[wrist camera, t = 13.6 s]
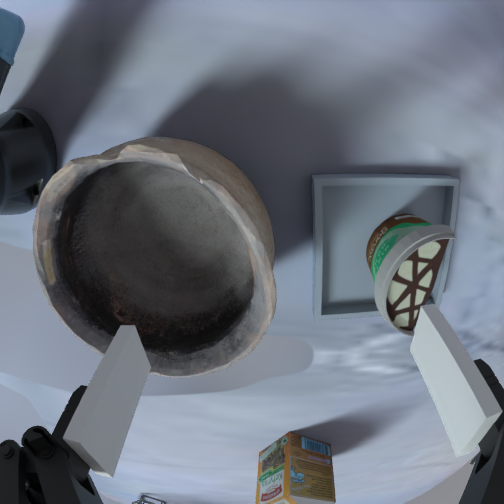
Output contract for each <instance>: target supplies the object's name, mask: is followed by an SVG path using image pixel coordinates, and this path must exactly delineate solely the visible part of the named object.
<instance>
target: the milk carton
mask: <svg viewBox="0 0 504 504" xmlns="http://www.w3.org/2000/svg"><path fill="white" fill-rule="evenodd" d="M335 503H336V499H335V487H334V475H333V465H332V455H331V445H330V444H327V443H324V442H320V441H317V440H313V439H310V438H307V437H304V436H301V435H298V434H294V433H291V432H288V433H287V434H285V435H284V436H283V437H281V438H280V439H278V440H277V441H275V442H274V443H273V444H271V445H270V446H268V447H267V448H265V449H264V450H262V451H261V452H259V464H258V478H257V491H256V504H335Z"/></svg>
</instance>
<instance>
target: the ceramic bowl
mask: <svg viewBox="0 0 504 504" xmlns="http://www.w3.org/2000/svg"><path fill="white" fill-rule="evenodd" d="M33 240H34V242H33V254H34V259H35V264H36V269H37V274H38V277H39V280H40V284H41V286H42V289H43V292H44V294H45V296H46V299H47V301H48V303H49V305H50V307H51V308H52V310H53V311H54V312H55V313H56V315H57V316H58V317H59V318H60V320H61V321H62V323H63V324H64V325H65V326H66V327H67V328H68V329H69V331H71V332H72V333H73V334H74V335H75V336H76V337H77V338H78V339H79V340H81V341H82V342H83V343H84V344H86V345H87V346H88V347H90V348H91V349H92V350H93V351H95V352H96V353H98V354H100V355H102V356H104V355H105V353H106V351H107V349H108V347H109V346H110V344H111V342H112V340H113V338H114V337H115V335H116V333H117V331H118V329H119V328H120V326H121V325H135V327H136V329H137V332H138V335H139V337H140V340H141V343H142V345H143V348H144V350H145V353H146V356H147V358H148V360H149V363H150V365H151V369H150V372H149V374H155V375H161V376H167V377H174V378H188V377H196V376H202V375H206V374H209V373H213V372H216V371H220V370H224V369H226V368H228V367H229V366H231V365H232V364H234V363H235V362H236V361H238V360H240V359H242V358H244V357H246V356H247V355H248V354H250V353H251V352H252V351H253V350H254V348H255V347H256V346H257V344H258V343H259V341H260V340H261V339H262V337H263V336H264V334H265V333H266V331H267V328H268V326H269V324H270V322H271V320H272V318H273V316H274V313H275V308H276V283H275V279H274V275H273V265H274V258H275V244H274V235H273V230H272V225H271V221H270V218H269V215H268V212H267V209H266V207H265V205H264V203H263V201H262V199H261V197H260V195H259V194H258V192H257V190H256V189H255V187H254V185H253V184H252V183H251V182H250V181H249V179H248V178H247V176H246V175H245V174H244V173H243V172H242V171H241V170H240V169H239V168H238V167H237V166H236V165H235V164H234V163H232V162H231V161H230V160H228V159H227V158H225V157H224V156H222V155H221V154H219V153H218V152H216V151H215V150H212V149H210V148H208V147H205V146H203V145H201V144H198V143H195V142H192V141H188V140H181V139H175V138H169V137H144V138H140V139H136V140H132V141H129V142H126V143H123V144H120V145H118V146H115V147H113V148H110V149H108V150H106V151H105V152H103V153H102V154H100V155H92V156H88V157H82V158H77V159H73V160H70V161H69V162H68V163H67V164H66V165H65V166H64V167H63V168H61V169H60V170H59V171H58V172H57V173H55V174H54V175H53V176H52V177H51V179H50V180H49V182H48V183H47V185H46V186H45V188H44V190H43V191H42V193H41V196H40V199H39V202H38V206H37V211H36V215H35V221H34V225H33Z"/></svg>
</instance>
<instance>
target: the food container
mask: <svg viewBox="0 0 504 504" xmlns="http://www.w3.org/2000/svg"><path fill="white" fill-rule="evenodd" d="M453 235H454V233H453V231H452V230H451V228H450V227H449V226H448V225H433V224H431V223H429V222H427V221H425V220H423V219H421V218H419V217H417V216H416V215H413V214H400V215H394V216H392V217H390V218H388V219H387V220H385V221H383V222H382V223H381V224H380V225H379V226H378V227H377V228H376V229H375V230H374V231H373V233H372V235H371V236H370V238H369V241H368V244H367V248H366V258H367V263H368V266H369V268H370V271H371V274H372V277H373V279H374V282H375V287H374V296H375V302H376V306H377V308H378V310H379V312H380V314H381V315H382V317H383V318H384V319H385V320H386V321H387V322H388V323H389V324H390V325H391V326H392V327H393V328H394V329H396V330H397V331H399V332H401V333H403V334H405V335H408V336H412V337H414V330H413V329H414V327H415V325H416V322H417V320H418V317H419V312H420V308H421V306H423V305H425V303H426V302H427V300H428V298H429V296H430V294H431V292H432V290H433V288H434V285H435V282H436V279H437V275H438V271H439V268H440V265H441V262H442V259H443V256H444V253H445V251H446V248H447V245H448V242H449V239H456V238H455V237H454V236H453Z"/></svg>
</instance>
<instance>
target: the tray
mask: <svg viewBox="0 0 504 504" xmlns="http://www.w3.org/2000/svg"><path fill="white" fill-rule="evenodd" d="M311 177H312V208H313V314H314V321H320V320H336V319H349V318H361V317H373V316H382V315H381V314H380V312H379V310H378V308H377V306H376V302H375V296H374V287H375V282H374V279H373V277H372V274H371V271H370V268H369V266H368V263H367V258H366V248H367V244H368V241H369V238H370V236H371V235H372V233H373V231H374V230H375V229H376V228H377V227H378V226H379V225H380V224H381V223H382V222H383V221H385V220H387V219H388V218H390V217H392V216H394V215H400V214H413V215H416V216H417V217H419V218H421V219H423V220H425V221H427V222H429V223H431V224H433V225H448V226H449V227H450V228H451V230H452V231H453V233H454V230H455V222H456V214H457V205H458V194H459V182H460V179H457V178H455V177H453V176H451V175H435V174H395V173H354V174H312V175H311ZM453 236H454V235H453ZM452 243H453V239H449V242H448V245H447V248H446V251H445V253H444V256H443V259H442V262H441V265H440V268H439V271H438V275H437V279H436V282H435V285H434V288H433V290H432V292H431V294H430V296H429V298H428V300H427V302H426V303H425V305H429V304H435V305H436V306H437V308H438V309H439V308H440V304H441V299H442V295H443V291H444V286H445V282H446V277H447V272H448V267H449V261H450V256H451V250H452Z"/></svg>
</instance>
